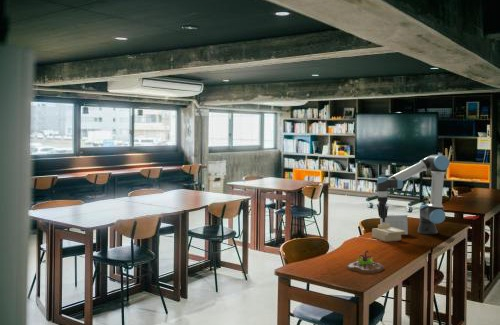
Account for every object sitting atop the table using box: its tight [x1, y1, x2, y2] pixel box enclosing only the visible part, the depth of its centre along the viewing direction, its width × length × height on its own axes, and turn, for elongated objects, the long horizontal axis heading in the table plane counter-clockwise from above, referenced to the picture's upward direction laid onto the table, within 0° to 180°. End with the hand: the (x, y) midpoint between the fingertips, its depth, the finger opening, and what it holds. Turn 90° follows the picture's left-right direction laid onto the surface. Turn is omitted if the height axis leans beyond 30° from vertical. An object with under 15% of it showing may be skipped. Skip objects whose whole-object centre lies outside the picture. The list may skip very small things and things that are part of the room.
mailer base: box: [371, 228, 402, 243], centre depth 356 cm, size 14×18×7 cm
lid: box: [373, 224, 406, 236], centre depth 352 cm, size 16×18×5 cm
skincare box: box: [379, 214, 409, 236], centre depth 373 cm, size 21×6×16 cm, turn 84°
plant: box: [346, 249, 385, 275], centre depth 275 cm, size 20×20×11 cm
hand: (382, 226), depth 360 cm, fingers closed
